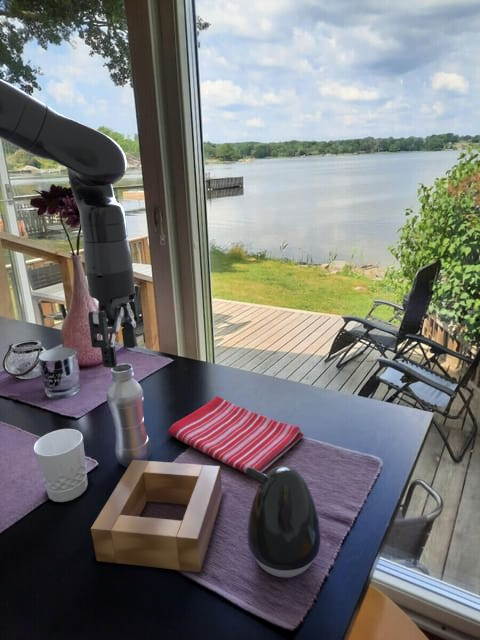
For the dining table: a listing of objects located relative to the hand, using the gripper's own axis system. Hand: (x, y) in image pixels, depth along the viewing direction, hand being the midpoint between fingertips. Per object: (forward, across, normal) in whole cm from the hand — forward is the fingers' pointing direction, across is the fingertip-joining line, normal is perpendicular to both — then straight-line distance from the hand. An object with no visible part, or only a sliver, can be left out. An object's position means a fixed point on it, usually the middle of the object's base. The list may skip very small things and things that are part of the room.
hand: (120, 356), depth 78 cm
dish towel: (+22, -10, +18) cm, 30 cm away
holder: (+22, +15, +11) cm, 29 cm away
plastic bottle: (+22, 0, 0) cm, 22 cm away
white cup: (+22, +9, -9) cm, 26 cm away
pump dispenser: (+22, +19, +30) cm, 42 cm away
